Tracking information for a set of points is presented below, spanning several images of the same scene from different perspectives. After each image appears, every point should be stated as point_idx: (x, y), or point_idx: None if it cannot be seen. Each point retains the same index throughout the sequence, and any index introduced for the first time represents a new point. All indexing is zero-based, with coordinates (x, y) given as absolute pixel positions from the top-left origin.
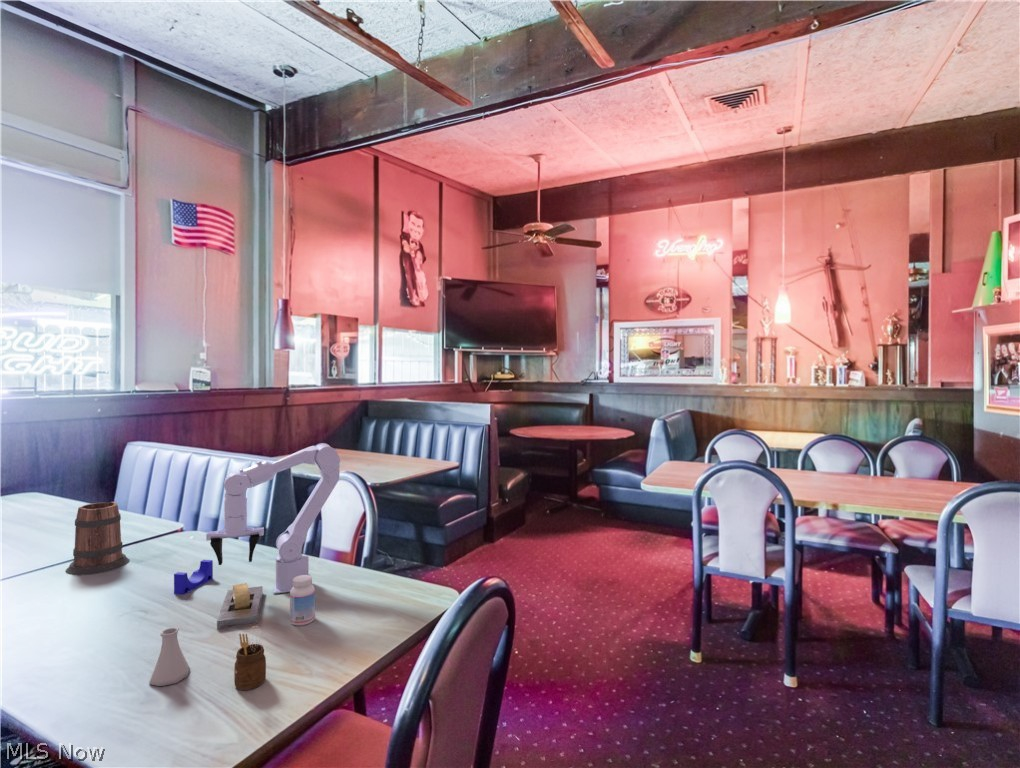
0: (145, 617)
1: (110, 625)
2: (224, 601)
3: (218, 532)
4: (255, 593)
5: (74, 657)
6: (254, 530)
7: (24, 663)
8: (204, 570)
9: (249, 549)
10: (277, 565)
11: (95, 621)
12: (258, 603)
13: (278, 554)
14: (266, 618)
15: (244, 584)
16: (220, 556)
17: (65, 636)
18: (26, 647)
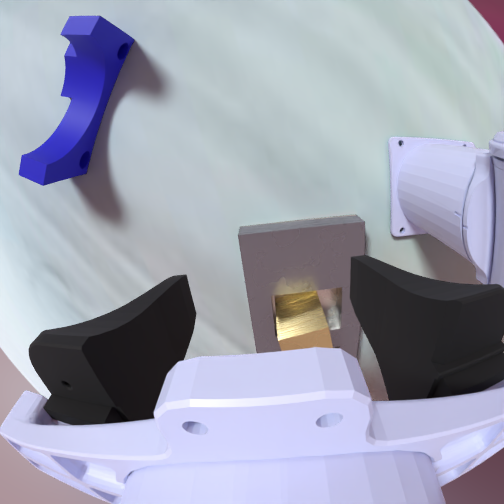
0: (78, 309)
1: (46, 325)
2: (254, 327)
3: (91, 483)
4: (345, 285)
5: None
6: (470, 467)
7: (45, 392)
8: (92, 51)
9: (380, 366)
10: (453, 241)
11: (16, 298)
12: (355, 353)
13: (482, 193)
14: (365, 370)
15: (321, 339)
16: (183, 359)
17: (22, 340)
18: (12, 353)
